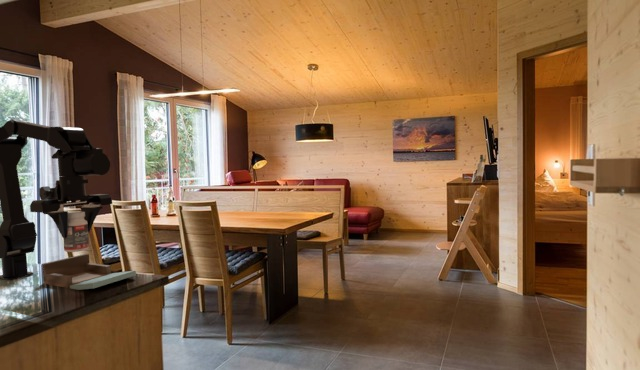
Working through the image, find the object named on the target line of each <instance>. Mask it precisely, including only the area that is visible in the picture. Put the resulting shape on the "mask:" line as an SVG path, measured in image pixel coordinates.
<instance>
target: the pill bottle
mask: <svg viewBox="0 0 640 370" xmlns="http://www.w3.org/2000/svg"><path fill="white" fill-rule="evenodd" d="M84 217H85V212H84V211H70V212H68V226H67V237H66V238H63V237H62V238H63V240H62V241H63V249H64V252H66V253H76V252H83V251H86V250H88V249H89V248H90V241H89V234H88V223H87V221H86V220H85V219H84Z"/></svg>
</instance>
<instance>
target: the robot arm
mask: <svg viewBox="0 0 640 370" xmlns="http://www.w3.org/2000/svg"><path fill="white" fill-rule="evenodd" d="M28 138H29V139H34V140H38V141H44V142H46V143H47V145H49V146H51V147H52V148H54V149H57V150H56V151H55V153H53V154H52V155H51V159H52V160H53V159H55V160H56V159H57V167H58V168H57V169H58V179H57V180H56V181H55V187H50V186H41V187H40V188H38V190H39V191H38V192H39V199H37V200H36V199H35V200H32V201H31V202H30V205H29V207H30V208H29V209H30V213H39V214H40V213H42V214H43V215H48V217H50V218H51V219H52V221H53V222H54V223H55V225H56V228H57V229H58V231H59V234H60V235H61V238H66V237H67V226H68V210H65V209H64V208H70V207H78V206H79V209H80V210H81V211H84V212H85V217H84V219H85V220H86V221H87V223H88V235H89V234H90V231H91V230H92V227H93V225H94V223H95V220H96V218H97V216H98V214H99V213H100V211H101V210H103V209H104V206H108V205H113V198H112V196H111V195H110V193H108V194H107V193H106V194H105V193H97V194H96V193H95V194H87V193H86V184H89V179H87V178H85V176H86V177H87V176H104V175H106V174H108V172H109V171H110V168H111V161H110V159H109V157H108V156H107V154H105V153H104V152H103V148H102V147H96V148H95V147H94V145H93V144H92V143H91V140H90V139H89V138H88V136H87V135H86V133H85V130H84V129H83V128H81V127H73V126H70V127H68V126H49V125H43V124H38V123H35V122H30V121H28V120H22V119H21V120H19V119H10V120H7V121H6V122H5V123H4V124H3V125H2V126H1V127H0V209H1V215H2V222H1V224H0V260H1V271H2V274H1V275H0V279H1V280H7V281H11V280H17V279H20V278H23V277H28V276H29V277H30V276H32V275H34V272H33V271H32V272H31V271H29V270H28V259H27V254H29V253H34V252H35V247H36V243H37V236H38V234H37V231H36V224H35V222H33V221H29V220H28V219H27V218H26V215H25V210H24V204H23V203H24V202H23V196H22V191H21V184H20V180H19V174H18V173H19V172H18V165H19V163H20V161H21V159H22V157H23V154H22V153H23V152H22V150H23V149H24V147H26V146H27V144H28Z"/></svg>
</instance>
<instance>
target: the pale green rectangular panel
mask: <svg viewBox="0 0 640 370" xmlns="http://www.w3.org/2000/svg"><path fill="white" fill-rule="evenodd" d="M135 276H137V270H128V271H121V272H113V273H112V272H111V274H109V275H105V276H102V277H98V278H95V279H91V280H88V281H84V282H81V283H77V284H74V285H71V286H70V287H69V288H70V289H72V290H79V291H80V290H89V289H90V290H92V289H96V288H100V287H103V286H106V285H108V284H113V283H115V282H119V281H122V280H125V279H128V278H132V277H135Z"/></svg>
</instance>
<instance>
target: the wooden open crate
mask: <svg viewBox="0 0 640 370" xmlns="http://www.w3.org/2000/svg"><path fill="white" fill-rule="evenodd" d="M41 267H42V279H43V280H42V281H43V282H42V283H43V285H49V286H55V287H59V288H61V287H62V288H66V289H69V288H70V286H71V285H74V284H77V283H81V282H84V281H88V280H91V279H95V278H98V277H102V276H105V275H109V274H112V268H111V267H112V266H111V265H109V264H100V263H92V262H90V254H89V253H83V254H79V255H75V256H71V257H66V258H61V259H57V260H53V261H47V262H43V263H41Z"/></svg>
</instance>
